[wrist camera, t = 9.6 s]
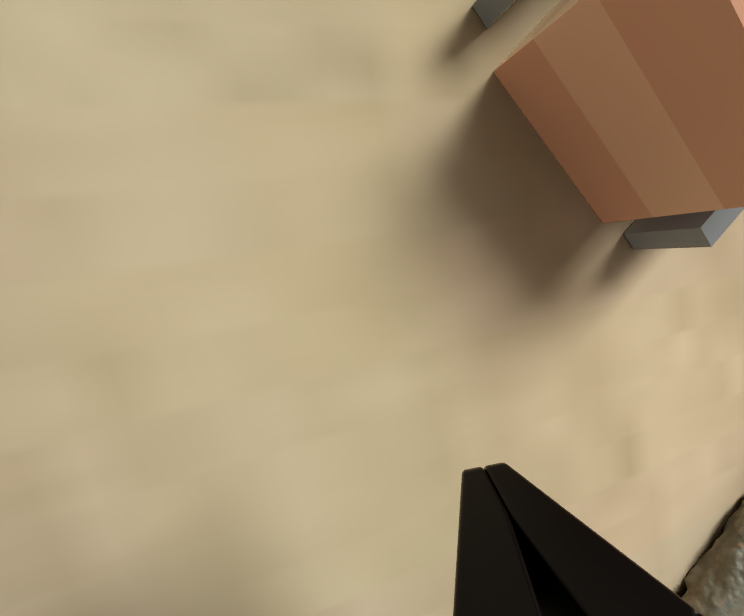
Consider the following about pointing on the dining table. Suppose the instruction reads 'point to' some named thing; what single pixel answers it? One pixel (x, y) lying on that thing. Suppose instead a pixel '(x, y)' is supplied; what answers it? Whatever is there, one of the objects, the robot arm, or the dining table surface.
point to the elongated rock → (720, 573)
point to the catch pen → (654, 230)
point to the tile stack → (638, 102)
